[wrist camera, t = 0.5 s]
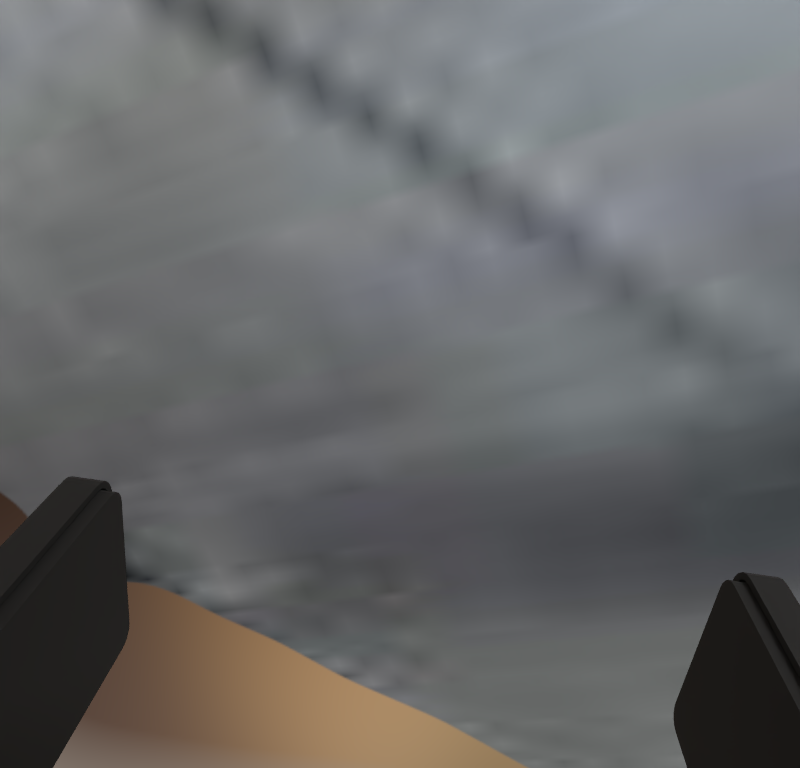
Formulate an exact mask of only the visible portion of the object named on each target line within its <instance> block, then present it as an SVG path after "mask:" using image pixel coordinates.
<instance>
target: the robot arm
mask: <svg viewBox="0 0 800 768" xmlns="http://www.w3.org/2000/svg"><path fill="white" fill-rule="evenodd" d="M128 631H129V609H128V595H127V578H126V562H125V547H124V531H123V516H122V501H121V496H120V494H119V493H117V492H112V490H111V486H110V484H109V483H108V482H106V481H101V480H94V479H87V478H80V477H73V476H72V477H68V478H66V479H65V480H64V481H63V482H62V483H61V484H60V485H59V486H58V487H57V488H56V489H55V490H54V491H53V492H52V493H51V494H50V495H49V496H48V497H47V498H46V499H45V501H44V502H43V503H42V504H41V505H40V506H39V507H38V508H37V509H36V510H35V511H34V512H33V513H32V514H31V515H30V516H29V517H28V518H27V519H26V520H25V521H24V522H23V524H22V525H20V527H19V528H18V529H17V530H16V531H15V532H14V533H13V534H12V535H11V536H10V537H9V538H8V539H7V540H6V541H5V542H4V543H3V544H2V545H1V546H0V768H53V766H54V765H55V763H56V761H57V759H58V758H59V756H60V754H61V753H62V751H63V749H64V748H65V746H66V744H67V742H68V741H69V739H70V737H71V736H72V734H73V732H74V730H75V729H76V727H77V725H78V724H79V722H80V720H81V718H82V717H83V715H84V713H85V711H86V710H87V708H88V706H89V705H90V703H91V701H92V700H93V698H94V696H95V694H96V693H97V691H98V689H99V688H100V686H101V684H102V682H103V681H104V679H105V677H106V676H107V674H108V672H109V670H110V669H111V667H112V665H113V664H114V662H115V660H116V659H117V657H118V655H119V653H120V651H121V650H122V648H123V646H124V644H125V641H126V639H127V635H128ZM674 726H675V730H676V734H677V737H678V740H679V743H680V746H681V750H682V753H683V756H684V759H685V762H686V765H687V768H800V605H799V603H798V601H797V600H796V598H795V597H794V595H793V593H792V592H791V590H790V589H789V587H788V585H787V584H786V583H785V582H784V580H783V579H781V578H778V577H772V576H765V575H758V574H751V573H744V572H742V573H738V574H737V575H736V576H735V577H734V579H733V581H732V580H726V581H725V582H723V584H722V586H721V587H720V590H719V593H718V595H717V598H716V600H715V603H714V605H713V608H712V611H711V613H710V616H709V618H708V621H707V623H706V626H705V629H704V631H703V634H702V636H701V639H700V642H699V644H698V647H697V649H696V652H695V654H694V657H693V660H692V662H691V665H690V667H689V670H688V672H687V675H686V678H685V680H684V683H683V685H682V688H681V690H680V693H679V696H678V698H677V701H676V704H675V707H674Z"/></svg>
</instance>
